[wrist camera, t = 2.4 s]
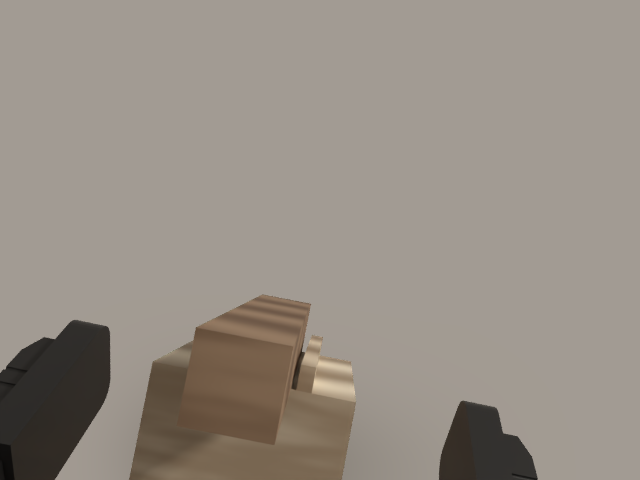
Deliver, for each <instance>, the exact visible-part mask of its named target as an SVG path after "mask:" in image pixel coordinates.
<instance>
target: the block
mask: <svg viewBox="0 0 640 480" xmlns="http://www.w3.org/2000/svg"><path fill="white" fill-rule="evenodd" d="M310 305H311V304H309V303H303V302H299V301H293V300H288V299H282V298H278V297H273V296H267V295H261V296H259V297H257V298H255V299H253V300H251V301H249V302H247V303H245V304H243V305H241V306H239V307H237V308H235V309H233V310H230V311H229V312H226V313H224V314H222V315H220V316H218V317H216V318H215V319H212V320H210V321H208V322H207V323H204V324H202V325H201V326H198V327H196V331H195V336H194V340H193V345H192V350H191V356H190V361H189V366H188V371H187V376H186V381H185V386H184V391H183V396H182V401H181V406H180V411H179V416H178V421H177V426H179V427H184V428H189V429H194V430H199V431H204V432H209V433H214V434H219V435H224V436H229V437H234V438H240V439H245V440H250V441H255V442H260V443H265V444H270V445H275V442H276V438H277V435H278V431H279V428H280V425H281V421H282V418H283V414H284V411H285V407H286V404H287V401H288V397H289V394H290V390H291V387H292V384H293V380H294V377H295V373H296V370H297V366H298V363H299V360H300V356H301V353H302V347H303V342H304V337H305V332H306V326H307V321H308V316H309V311H310Z"/></svg>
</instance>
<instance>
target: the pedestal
mask: <svg viewBox="0 0 640 480" xmlns="http://www.w3.org/2000/svg"><path fill="white" fill-rule="evenodd" d="M322 339H323V337H319V336H314V335H312V337H311V339H310V342H309V345H308V347H307V350H306V353H305V352H302V353H301V356H300V360H299V363H298V366H297V370H296V373H295V377H294V380H293V384H292V387H291V390H290V394H289V397H288V401H287V404H286V407H285V411H284V414H283V418H282V421H281V425H280V428H279V431H278V435H277V438H276V442H275V445H270V444H265V443H260V442H255V441H250V440H245V439H240V438H234V437H229V436H224V435H219V434H214V433H209V432H204V431H199V430H194V429H189V428H184V427H179V426H177V421H178V416H179V411H180V406H181V401H182V396H183V391H184V386H185V381H186V376H187V371H188V366H189V361H190V356H191V350H192V345H193V341H191V342H189V343H188V344H186V345H184V346H182V347H180V348H178V349H176V350H174V351H172V352H170V353H168V354H167V355H165V356H163V357H161V358H159V359H157V360H155V361H153V363H152V369H151V373H150V378H149V384H148V389H147V393H146V399H145V403H144V408H143V414H142V418H141V424H140V429H139V433H138V439H137V443H136V449H135V454H134V458H133V463H132V468H131V473H130V478H129V480H341V479H342V475H343V469H344V464H345V458H346V453H347V448H348V442H349V437H350V432H351V426H352V421H353V416H354V410H355V404H356V399H355V392H354V383H353V375H352V367H351V362H350V361H345V360H339V359H335V358H330V357H325V356H320V350H321V345H322Z"/></svg>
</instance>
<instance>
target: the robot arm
mask: <svg viewBox="0 0 640 480" xmlns="http://www.w3.org/2000/svg"><path fill="white" fill-rule="evenodd" d="M109 384H110V331H109V328H108V327H107V326H103V325H98V324H93V323H88V322H83V321H78V320H73V321H71V322H70V323H69V324H68V325H67V326H66V328H65V329H64V330H63V331H62V332H61V333H60V334H59V335H58V337H57V338H56V339H50V338H45V337H44V338H42V339H40V340H39V341H37V342H35V343H33V344H31V345H29V346H28V347H26V348H24V349H22V350H21V351H20V352H19V353H18V354H17V356H16V357H15V358H14V359H13V360H12V361H11V362H10V363H9V364H8V365H7V367H6V369H5V370H3V371H2V372H1V373H0V480H55V478H56V477H57V475H58V474H59V472H60V471H61V469H62V467H63V466H64V464H65V463H66V461H67V460H68V458H69V457H70V455H71V453H72V452H73V450H74V449H75V447H76V446H77V444H78V443H79V441H80V439H81V438H82V436H83V435H84V433H85V432H86V430H87V429H88V427H89V425H90V424H91V422H92V421H93V419H94V418H95V416H96V414H97V413H98V411H99V410H100V408H101V407H102V405H103V403H104V401H105V398H106V396H107V393H108V389H109ZM537 479H538V478H537V474H536V470H535V467H534V463H533V459H532V456H531V455H530V454H529V452H528V451H527V449H526V448H525V446H524V445H523V444H522V442H521V441H520V439H519V438H518V437H517V436H513V435H508V434H503V432H502V427H501V422H500V418H499V413H498V410H497V409H496V408H495V407H491V406H486V405H481V404H476V403H472V402H467V401H461V402H460V404H459V406H458V408H457V411H456V414H455V417H454V419H453V422H452V425H451V428H450V430H449V433H448V436H447V439H446V442H445V445H444V447H443V450H442V454H441V460H440V468H439V480H537Z"/></svg>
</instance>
